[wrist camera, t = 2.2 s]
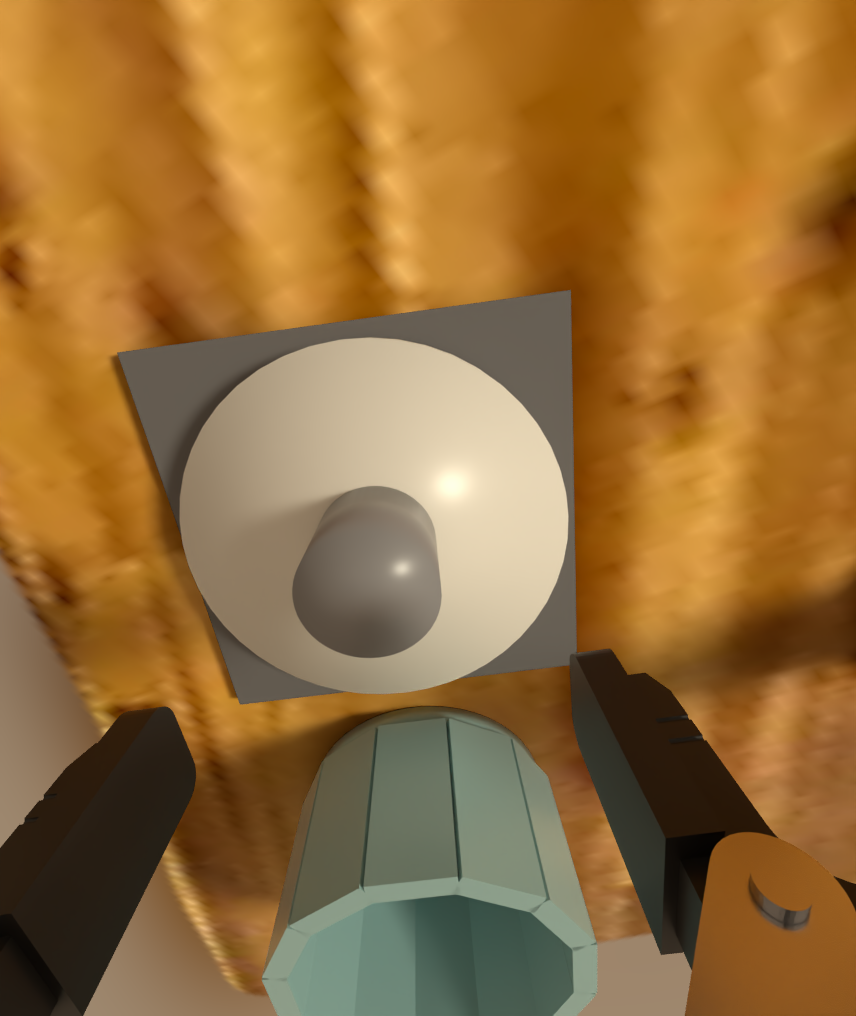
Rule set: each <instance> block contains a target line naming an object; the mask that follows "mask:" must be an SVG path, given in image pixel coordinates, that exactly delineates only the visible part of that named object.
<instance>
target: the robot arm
mask: <svg viewBox="0 0 856 1016" xmlns="http://www.w3.org/2000/svg"><path fill="white" fill-rule="evenodd" d="M570 681H571V700H572V717H573V724H574V729H575V734H576V738H577V741H578V745H579V748H580V751H581V753H582V756H583V758H584V761H585V763H586V766H587V768H588V771H589V773H590V776H591V779H592V781H593V784H594V786H595V789H596V791H597V794H598V796H599V799H600V801H601V804H602V806H603V809H604V811H605V814H606V817H607V819H608V822H609V824H610V827H611V829H612V832H613V834H614V837H615V839H616V842H617V844H618V847H619V849H620V852H621V855H622V857H623V860H624V862H625V865H626V867H627V870H628V872H629V875H630V877H631V880H632V882H633V885H634V887H635V890H636V892H637V895H638V898H639V900H640V903H641V905H642V908H643V910H644V913H645V915H646V918H647V920H648V923H649V925H650V928H651V930H652V933H653V936H654V938H655V940H656V943H657V946H658V948H659V951H660V953H661V955H664V954H672V953H682V952H684V954H685V956H686V958H687V961H688V963H689V965H690V967H691V970H692V974H691V981H690V986H689V993H688V999H687V1005H686V1011H685V1016H856V884H854V883H850V882H847V881H845V880H842V879H839V878H837V877H835V876H832V875H831V874H830V873H829V871H828V870H826V869H825V868H824V867H823V866H822V865H821V864H820V863H819V862H818V861H816V860H815V859H814V858H812V857H811V856H810V855H808V854H807V853H805V852H804V851H802V850H800V849H799V848H797V847H795V846H794V845H792V844H790V843H788V842H785V841H783V840H781V839H779V838H778V837H777V836H776V835H775V834H774V833H773V832H772V831H771V829H770V828H769V827H768V826H767V824H766V823H765V822H764V820H763V819H762V817H761V816H760V815H759V813H758V812H757V810H756V809H755V808H754V806H753V805H752V803H751V802H750V801H749V799H748V798H747V797H746V795H745V794H744V792H743V791H742V790H741V788H740V787H739V785H738V784H737V783H736V781H735V780H734V778H733V777H732V776H731V774H730V773H729V771H728V770H727V769H726V767H725V766H724V765H723V763H722V762H721V760H720V759H719V758H718V756H717V755H716V753H715V752H714V751H713V749H712V748H711V746H710V745H709V744H708V742H707V741H706V740H705V741H704V739H703V737H702V734H701V733H700V731H699V730H698V728H697V727H696V726H695V724H694V723H693V721H692V720H689V718H688V714H687V713H686V712H685V710H684V709H683V707H682V706H681V705H680V703H679V702H678V701H677V699H676V698H675V696H674V695H673V694H672V692H671V691H670V690H669V689H667V688H666V687H664V686H663V685H662V684H660V683H659V682H657V681H656V680H655V679H653V678H652V677H650V676H649V675H648V674H646V673H640V674H632V675H627V673H626V671H625V670H624V668H623V667H622V665H621V663H620V662H619V660H618V659H617V657H616V655H615V654H614V652H613V651H612V650H610V649H603V650H596V651H588V652H580V653H573V654H571V655H570ZM195 780H196V769H195V764H194V761H193V758H192V756H191V753H190V751H189V749H188V746H187V744H186V741H185V739H184V737H183V734H182V732H181V729H180V727H179V725H178V722H177V720H176V717H175V715H174V713H173V711H172V710H171V709H170V708H168V707H157V708H149V709H142V710H134V711H128V712H125V713H123V714H122V715H120V716H119V717H118V719H117V720H116V721H115V722H114V723H113V725H112V726H111V727H110V728H109V730H108V731H107V732H106V734H105V735H104V736H103V737H102V739H101V740H100V741H99V742H98V743H96V744H94V745H93V746H92V747H91V748H89V749H88V750H87V751H86V752H85V753H83V754H82V755H81V756H80V757H79V758H78V759H76V760H75V761H74V762H73V763H71V764H70V765H69V766H68V767H67V768H66V769H65V770H64V771H63V773H62V774H61V775H60V776H59V777H58V778H57V780H56V781H55V782H54V783H53V784H52V786H51V787H50V788H49V789H48V791H47V792H46V793H45V794H44V799H43V800H41V801H39V802H38V803H37V804H36V805H35V806H34V808H33V809H32V810H31V811H30V812H29V814H28V815H27V816H26V817H25V822H24V824H22V825H19V826H18V827H17V828H16V829H15V831H14V832H13V833H12V834H11V836H10V837H9V838H8V839H7V840H6V842H5V843H4V844H3V845H2V847H1V848H0V1016H83V1015H84V1013H85V1011H86V1009H87V1007H88V1005H89V1002H90V1001H91V998H92V997H93V995H94V993H95V990H96V988H97V986H98V985H99V982H100V980H101V978H102V976H103V974H104V972H105V970H106V968H107V966H108V964H109V962H110V960H111V958H112V956H113V954H114V952H115V950H116V948H117V946H118V944H119V942H120V940H121V938H122V936H123V934H124V932H125V930H126V928H127V926H128V924H129V922H130V920H131V918H132V916H133V914H134V912H135V910H136V908H137V906H138V904H139V902H140V900H141V898H142V896H143V894H144V892H145V889H146V888H147V886H148V884H149V882H150V880H151V878H152V876H153V874H154V872H155V870H156V867H157V866H158V864H159V862H160V860H161V858H162V856H163V854H164V851H165V849H166V847H167V845H168V843H169V841H170V839H171V837H172V835H173V833H174V831H175V829H176V827H177V825H178V823H179V821H180V819H181V817H182V815H183V813H184V811H185V809H186V807H187V805H188V803H189V801H190V799H191V797H192V794H193V791H194V787H195Z"/></svg>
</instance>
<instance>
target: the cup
mask: <svg viewBox="0 0 856 1016" xmlns="http://www.w3.org/2000/svg"><path fill="white" fill-rule="evenodd" d="M262 982H263V984H264V986H265V988H266V990H267V993H268V995H269V997H270V999H271V1002H272V1004H273V1006H274V1008H275V1010H276V1013H277V1015H278V1016H577V1015H578V1013H579V1012H580V1011H581V1010H582V1009H583V1008H584V1007H585V1006H586V1005H587V1004H588V1003H589V1002H590V1001H591V1000H592V999H593V997H595V995H596V993H597V942H596V939H595V935H594V932H593V928H592V925H591V922H590V918H589V915H588V911H587V908H586V905H585V901H584V898H583V895H582V891H581V888H580V884H579V881H578V878H577V874H576V871H575V867H574V864H573V861H572V857H571V854H570V850H569V847H568V844H567V840H566V837H565V833H564V830H563V827H562V823H561V820H560V816H559V813H558V810H557V806H556V803H555V799H554V796H553V793H552V789H551V786H550V782H549V779H548V777H547V775H546V774H545V773H544V772H543V771H542V770H541V769H540V768H539V766H538V765H537V764H536V763H535V760H534V758H533V757H532V755H531V753H530V751H529V750H528V748H527V747H526V746H525V745H524V743H523V742H522V741H521V740H520V739H519V738H518V737H517V736H516V735H515V734H514V733H513V732H511V731H510V730H508V729H507V728H506V727H504V726H503V725H501V724H499V723H497V722H496V721H494V720H492V719H490V718H488V717H485V716H482V715H480V714H477V713H474V712H470V711H466V710H462V709H457V708H449V707H436V706H425V707H412V708H406V709H400V710H395V711H392V712H388V713H385V714H382V715H379V716H377V717H374V718H372V719H369V720H367V721H365V722H363V723H362V724H360V725H358V726H356V727H355V728H353V729H352V730H350V731H349V732H348V733H346V734H345V735H344V736H343V737H342V738H340V739H339V740H338V741H337V742H336V743H335V744H334V746H333V747H332V748H331V749H330V751H329V752H328V753H327V755H326V757H325V758H324V760H323V761H322V763H321V765H320V767H319V770H318V772H317V774H316V776H315V779H314V781H313V783H312V785H311V787H310V790H309V792H308V794H307V796H306V798H305V801H304V803H303V806H302V810H301V815H300V819H299V823H298V827H297V831H296V836H295V840H294V844H293V848H292V852H291V857H290V861H289V865H288V869H287V874H286V878H285V882H284V886H283V890H282V895H281V899H280V903H279V907H278V912H277V916H276V920H275V924H274V928H273V933H272V937H271V941H270V945H269V950H268V954H267V958H266V962H265V966H264V971H263V975H262Z"/></svg>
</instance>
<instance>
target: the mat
mask: <svg viewBox="0 0 856 1016" xmlns="http://www.w3.org/2000/svg"><path fill="white" fill-rule="evenodd" d="M367 337H375V338H390V339H400V340H405V341H410V342H415V343H420V344H424V345H428V346H431V347H433V348H436V349H439V350H442V351H445V352H447V353H450V354H452V355H454V356H456V357H458V358H460V359H462V360H464V361H466V362H468V363H470V364H472V365H473V366H475V367H477V368H479V369H480V370H481V371H483V372H484V373H486V374H487V375H488V376H490V377H491V378H493V379H494V380H495V381H497V382H498V383H500V384H501V385H502V386H503V387H504V388H506V389H507V390H508V391H509V392H510V393H511V394H512V395H513V396H514V397H515V398H516V399H517V400H518V401H519V402H520V403H521V404H522V405H523V406H524V407H525V409H526V410H527V411H528V412H529V414H530V415H531V416H532V417H533V419H534V420H535V421H536V422H537V424H538V425H539V427H540V429H541V430H542V432H543V434H544V435H545V437H546V439H547V441H548V442H549V444H550V446H551V448H552V450H553V453H554V455H555V458H556V460H557V463H558V465H559V467H560V470H561V474H562V478H563V482H564V486H565V490H566V496H567V506H568V516H569V517H568V540H567V545H566V550H565V556H564V561H563V564H562V567H561V570H560V573H559V576H558V579H557V582H556V585H555V587H554V589H553V591H552V593H551V595H550V597H549V599H548V601H547V603H546V604H545V606H544V607H543V609H542V610H541V612H540V613H539V615H538V616H537V618H536V619H535V621H534V622H533V623H532V624H531V625H530V626H529V628H528V629H527V630H526V631H525V632H524V633H523V635H522V636H521V637H520V638H519V639H518V640H517V641H515V642H514V643H513V644H512V645H511V646H510V647H509V648H508V649H507V650H505V651H504V652H503V653H502V654H500V655H499V656H497V657H496V658H494V659H493V660H492V661H490V662H489V663H487V664H486V665H484V666H482V667H480V668H478V669H477V670H475V671H473V672H471V673H469V674H467V675H465V676H463V677H460V678H466V677H475V676H483V675H491V674H500V673H508V672H516V671H525V670H533V669H542V668H550V667H558V666H567V665H570V655H571V654H573V653H577V644H576V583H575V522H574V461H573V400H572V339H571V290H568V291H561V292H553V293H546V294H539V295H532V296H524V297H517V298H510V299H503V300H496V301H488V302H481V303H474V304H467V305H459V306H452V307H445V308H438V309H430V310H423V311H416V312H409V313H401V314H394V315H387V316H380V317H372V318H365V319H358V320H351V321H343V322H336V323H329V324H322V325H314V326H307V327H300V328H293V329H285V330H278V331H271V332H264V333H256V334H249V335H242V336H235V337H227V338H220V339H213V340H206V341H198V342H191V343H184V344H177V345H169V346H162V347H155V348H148V349H140V350H133V351H126V352H119V353H117V354H118V356H119V359H120V362H121V365H122V368H123V371H124V374H125V377H126V379H127V382H128V385H129V388H130V391H131V394H132V397H133V399H134V402H135V405H136V408H137V411H138V414H139V417H140V419H141V422H142V425H143V428H144V431H145V434H146V437H147V440H148V442H149V445H150V448H151V451H152V454H153V457H154V460H155V462H156V465H157V468H158V471H159V474H160V477H161V480H162V482H163V485H164V488H165V491H166V494H167V497H168V500H169V503H170V505H171V508H172V511H173V514H174V517H175V520H176V523H177V525H178V528H179V531H180V534H181V528H180V493H181V487H182V481H183V474H184V471H185V467H186V464H187V461H188V458H189V455H190V452H191V449H192V447H193V445H194V443H195V441H196V439H197V437H198V435H199V433H200V431H201V429H202V427H203V426H204V424H205V423H206V421H207V420H208V419H209V417H210V416H211V414H212V413H213V412H214V410H215V409H216V407H217V406H218V405H219V404H220V403H221V402H222V401H223V400H224V399H225V398H226V397H227V396H228V395H229V393H230V392H231V391H232V390H233V389H234V388H235V387H236V386H237V385H239V384H240V383H241V382H243V381H244V380H245V379H247V378H248V377H249V376H251V375H252V374H253V373H255V372H256V371H257V370H259V369H260V368H262V367H264V366H266V365H268V364H270V363H271V362H273V361H275V360H277V359H279V358H281V357H282V356H285V355H287V354H290V353H293V352H295V351H298V350H301V349H304V348H306V347H309V346H313V345H317V344H322V343H327V342H331V341H336V340H341V339H353V338H367ZM181 537H182V536H181ZM202 597H203V595H202ZM203 600H204V603H205V606H206V608H207V611H208V614H209V617H210V620H211V623H212V626H213V629H214V631H215V634H216V637H217V640H218V643H219V646H220V649H221V651H222V654H223V657H224V660H225V663H226V666H227V669H228V671H229V674H230V677H231V680H232V683H233V686H234V689H235V692H236V694H237V697H238V700H239V703H240V704H249V703H257V702H266V701H274V700H282V699H291V698H299V697H307V696H316V695H324V694H332V693H341V692H348V691H340V690H336V689H332V688H328V687H324V686H320V685H316V684H314V683H311V682H308V681H305V680H302V679H300V678H297V677H295V676H293V675H291V674H289V673H286V672H284V671H282V670H280V669H278V668H276V667H275V666H273V665H271V664H270V663H268V662H267V661H265V660H263V659H262V658H260V657H259V656H257V655H256V654H255V653H253V652H252V651H251V650H250V649H248V648H247V647H246V646H245V645H243V644H242V643H241V642H240V641H239V640H238V639H237V638H236V637H235V636H234V635H233V634H232V633H231V632H230V631H229V630H228V629H227V628H226V627H225V626H224V625H223V624H222V623H221V621H220V620H219V619H218V617H217V616H216V615H215V614H214V612H213V611H212V610H211V609H210V607H209V605H208V604H207V602H206V600H205V599H204V597H203Z"/></svg>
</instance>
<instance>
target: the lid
mask: <svg viewBox="0 0 856 1016" xmlns="http://www.w3.org/2000/svg"><path fill="white" fill-rule="evenodd" d="M568 517H569V516H568V506H567V496H566V490H565V486H564V482H563V478H562V474H561V470H560V467H559V465H558V463H557V460H556V458H555V455H554V453H553V450H552V448H551V446H550V444H549V442H548V441H547V439H546V437H545V435H544V434H543V432H542V430H541V429H540V427H539V425H538V424H537V422H536V421H535V420H534V419H533V417H532V416H531V415H530V414H529V412H528V411H527V410H526V409H525V407H524V406H523V405H522V404H521V403H520V402H519V401H518V400H517V399H516V398H515V397H514V396H513V395H512V394H511V393H510V392H509V391H508V390H507V389H506V388H504V387H503V386H502V385H501V384H500V383H498V382H497V381H495V380H494V379H493V378H491V377H490V376H488V375H487V374H486V373H484V372H483V371H481V370H480V369H479V368H477V367H475V366H473V365H472V364H470V363H468V362H466V361H464V360H462V359H460V358H458V357H456V356H454V355H452V354H450V353H447V352H445V351H442V350H439V349H436V348H433V347H431V346H428V345H424V344H420V343H415V342H410V341H405V340H400V339H390V338H375V337H367V338H353V339H341V340H336V341H331V342H327V343H322V344H317V345H313V346H309V347H306V348H304V349H301V350H298V351H295V352H293V353H290V354H287V355H285V356H282V357H281V358H279V359H277V360H275V361H273V362H271V363H270V364H268V365H266V366H264V367H262V368H260V369H259V370H257V371H256V372H255V373H253V374H252V375H251V376H249V377H248V378H247V379H245V380H244V381H243V382H241V383H240V384H239V385H237V386H236V387H235V388H234V389H233V390H232V391H231V392H230V393H229V395H228V396H227V397H226V398H225V399H224V400H223V401H222V402H221V403H220V404H219V405H218V406H217V407H216V409H215V410H214V412H213V413H212V414H211V416H210V417H209V419H208V420H207V421H206V423H205V424H204V426H203V427H202V429H201V431H200V433H199V435H198V437H197V439H196V441H195V443H194V445H193V447H192V449H191V452H190V455H189V458H188V461H187V464H186V467H185V471H184V474H183V481H182V487H181V493H180V528H181V536H182V543H183V547H184V551H185V555H186V558H187V562H188V565H189V568H190V570H191V573H192V575H193V577H194V580H195V582H196V584H197V587H198V589H199V590H200V592H201V594H202V595H203V597H204V599H205V600H206V602H207V604H208V605H209V607H210V609H211V610H212V611H213V612H214V614H215V615H216V616H217V617H218V619H219V620H220V621H221V623H222V624H223V625H224V626H225V627H226V628H227V629H228V630H229V631H230V632H231V633H232V634H233V635H234V636H235V637H236V638H237V639H238V640H239V641H240V642H241V643H242V644H243V645H245V646H246V647H247V648H248V649H250V650H251V651H252V652H253V653H255V654H256V655H257V656H259V657H260V658H262V659H263V660H265V661H267V662H268V663H270V664H271V665H273V666H275V667H276V668H278V669H280V670H282V671H284V672H286V673H289V674H291V675H293V676H295V677H297V678H300V679H302V680H305V681H308V682H311V683H314V684H316V685H320V686H324V687H328V688H332V689H336V690H340V691H348V692H355V693H365V694H392V693H405V692H411V691H417V690H422V689H428V688H431V687H434V686H438V685H441V684H445V683H448V682H451V681H453V680H455V679H458V678H460V677H463V676H465V675H467V674H469V673H471V672H473V671H475V670H477V669H478V668H480V667H482V666H484V665H486V664H487V663H489V662H490V661H492V660H493V659H494V658H496V657H497V656H499V655H500V654H502V653H503V652H504V651H505V650H507V649H508V648H509V647H510V646H511V645H512V644H513V643H514V642H515V641H517V640H518V639H519V638H520V637H521V636H522V635H523V633H524V632H525V631H526V630H527V629H528V628H529V626H530V625H531V624H532V623H533V622H534V621H535V619H536V618H537V616H538V615H539V613H540V612H541V610H542V609H543V607H544V606H545V604H546V603H547V601H548V599H549V597H550V595H551V593H552V591H553V589H554V587H555V585H556V582H557V579H558V576H559V573H560V570H561V567H562V564H563V561H564V556H565V550H566V545H567V540H568Z"/></svg>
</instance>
